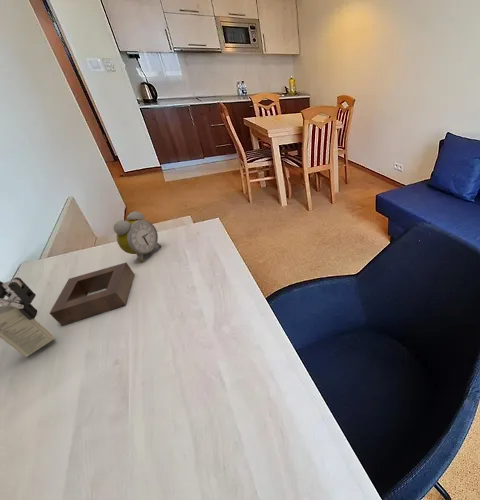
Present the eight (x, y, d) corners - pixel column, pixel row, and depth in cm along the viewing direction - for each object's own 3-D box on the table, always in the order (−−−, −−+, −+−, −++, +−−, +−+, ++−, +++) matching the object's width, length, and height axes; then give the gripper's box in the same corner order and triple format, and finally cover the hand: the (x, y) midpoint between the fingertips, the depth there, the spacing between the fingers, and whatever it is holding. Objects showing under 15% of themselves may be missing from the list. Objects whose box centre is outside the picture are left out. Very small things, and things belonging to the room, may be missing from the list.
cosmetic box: (49, 332, 78) (14, 298, 71) (56, 338, 76) (20, 304, 69) (18, 351, 73) (-23, 317, 66) (24, 358, 71) (-17, 324, 64)
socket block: (61, 326, 81) (49, 313, 78) (79, 290, 93) (68, 278, 90) (125, 305, 85) (116, 292, 82) (134, 274, 97) (126, 262, 94)
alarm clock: (143, 264, 101) (119, 226, 92) (126, 264, 102) (100, 226, 94) (165, 244, 110) (145, 208, 101) (149, 244, 111) (128, 208, 103)
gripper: (5, 248, 65) (55, 302, 75) (-80, 269, 62) (-16, 323, 71) (-14, 267, 59) (43, 323, 69) (-110, 291, 56) (-35, 347, 65)
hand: (13, 323), depth 70 cm, fingers closed on cosmetic box, 7 cm apart
